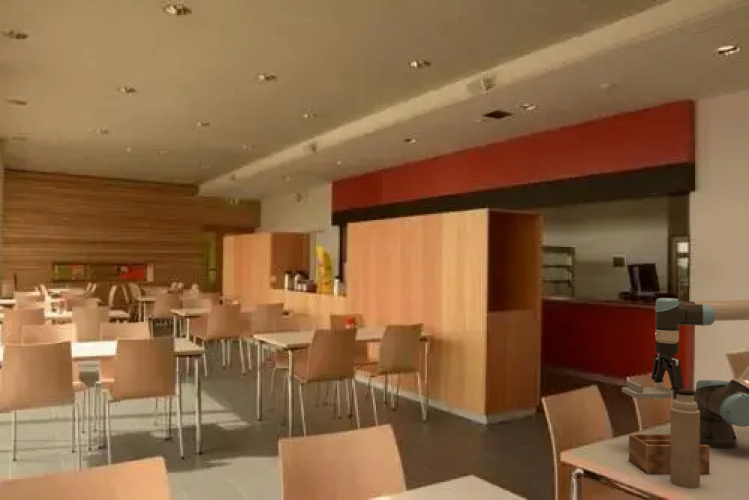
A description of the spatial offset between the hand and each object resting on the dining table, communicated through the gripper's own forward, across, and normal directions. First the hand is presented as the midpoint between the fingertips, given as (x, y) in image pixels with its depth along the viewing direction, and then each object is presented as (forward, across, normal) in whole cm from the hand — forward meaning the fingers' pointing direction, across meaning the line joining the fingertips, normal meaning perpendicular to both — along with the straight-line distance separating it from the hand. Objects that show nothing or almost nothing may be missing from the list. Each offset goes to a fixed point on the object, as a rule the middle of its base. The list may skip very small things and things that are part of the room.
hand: (666, 404), depth 216 cm
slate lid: (-3, 0, -6) cm, 7 cm away
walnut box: (+17, +16, -8) cm, 25 cm away
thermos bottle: (+17, +30, -10) cm, 36 cm away
